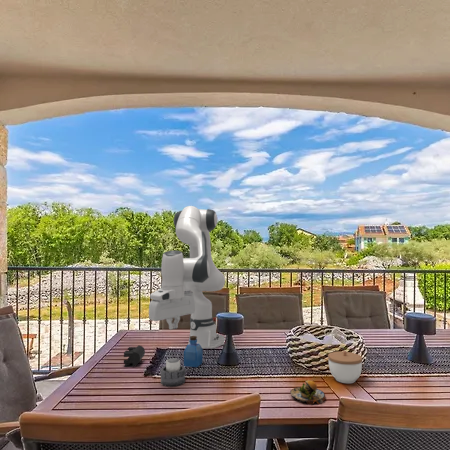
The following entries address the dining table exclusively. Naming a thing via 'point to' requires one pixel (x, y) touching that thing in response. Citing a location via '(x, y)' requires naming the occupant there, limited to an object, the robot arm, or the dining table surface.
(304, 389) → the burger
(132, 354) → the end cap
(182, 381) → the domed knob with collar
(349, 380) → the lidded bowl
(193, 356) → the perfume bottle
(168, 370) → the cap
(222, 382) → the dining table surface
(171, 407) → the dining table surface
